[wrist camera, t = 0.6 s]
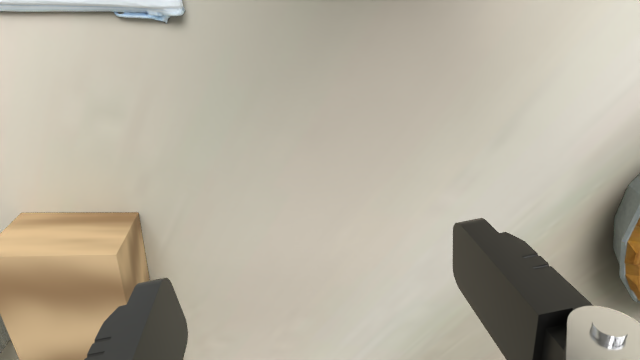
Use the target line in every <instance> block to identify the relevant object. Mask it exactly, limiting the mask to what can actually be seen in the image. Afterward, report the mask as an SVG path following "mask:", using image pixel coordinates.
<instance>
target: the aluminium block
mask: <svg viewBox="0 0 640 360" xmlns="http://www.w3.org/2000/svg"><path fill="white" fill-rule="evenodd" d="M10 339H11V338H10V336H9V334H8V331H7V329H6V326H5V324H4V322H3V319H2V317H1V314H0V353H1V352H2V350H3V349H4V347H5V346H6V344H7V343H8V342H9V340H10Z"/></svg>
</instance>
